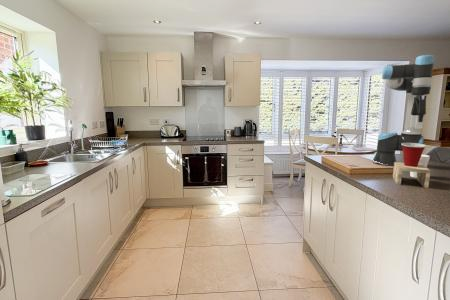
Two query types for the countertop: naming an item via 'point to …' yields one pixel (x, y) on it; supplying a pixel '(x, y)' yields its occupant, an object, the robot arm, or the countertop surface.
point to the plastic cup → (412, 153)
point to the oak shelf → (421, 170)
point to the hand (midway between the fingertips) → (415, 127)
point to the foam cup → (423, 161)
